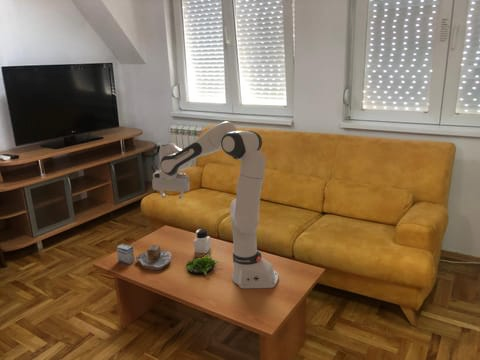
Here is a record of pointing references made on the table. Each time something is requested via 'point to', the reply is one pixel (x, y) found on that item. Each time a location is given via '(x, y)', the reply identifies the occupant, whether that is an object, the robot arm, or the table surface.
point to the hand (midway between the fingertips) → (172, 198)
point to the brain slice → (154, 264)
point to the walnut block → (153, 252)
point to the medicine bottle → (202, 241)
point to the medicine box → (125, 254)
